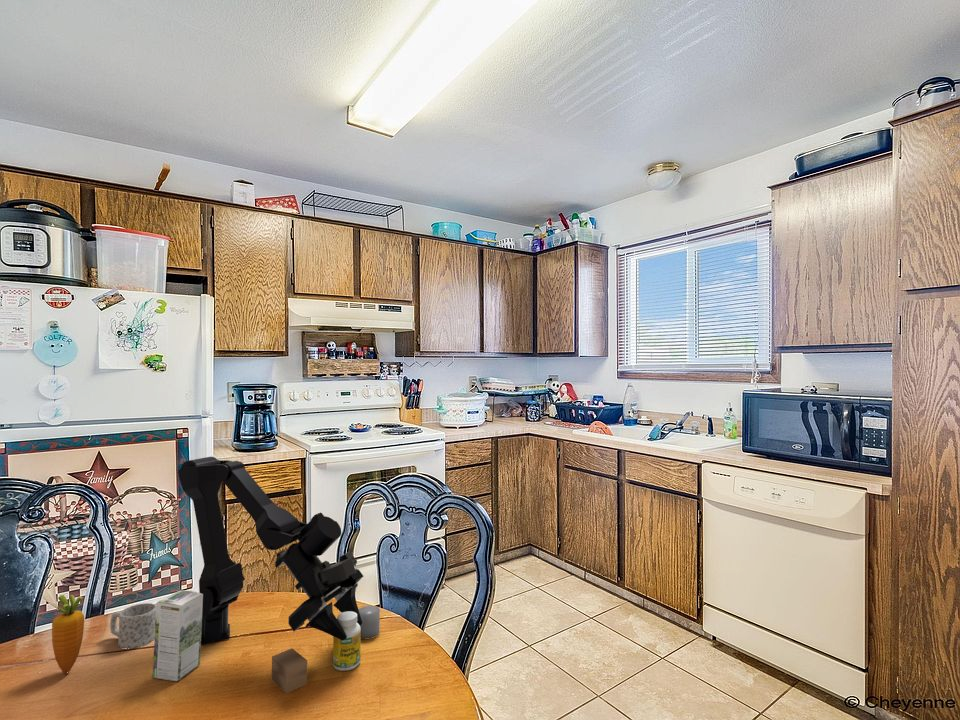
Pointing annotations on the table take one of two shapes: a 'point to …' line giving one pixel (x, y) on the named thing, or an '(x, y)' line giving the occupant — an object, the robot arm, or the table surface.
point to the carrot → (67, 633)
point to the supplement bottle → (347, 643)
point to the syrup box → (177, 635)
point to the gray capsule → (369, 621)
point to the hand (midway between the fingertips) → (353, 631)
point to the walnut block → (289, 670)
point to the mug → (134, 625)
